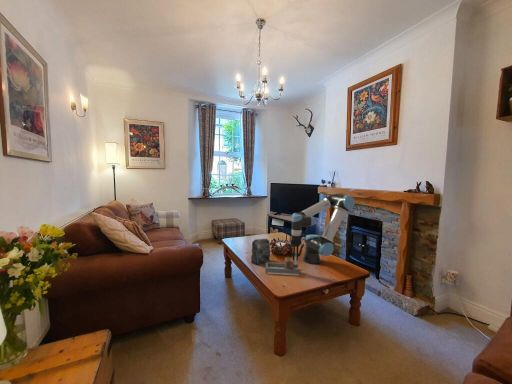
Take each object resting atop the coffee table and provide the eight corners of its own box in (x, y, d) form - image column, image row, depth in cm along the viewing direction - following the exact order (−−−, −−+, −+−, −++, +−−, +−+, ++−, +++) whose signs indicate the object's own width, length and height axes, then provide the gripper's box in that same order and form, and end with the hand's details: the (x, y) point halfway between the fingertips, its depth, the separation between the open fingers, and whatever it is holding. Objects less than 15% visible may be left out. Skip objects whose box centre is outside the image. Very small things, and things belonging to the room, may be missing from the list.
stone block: (255, 265, 185) (255, 242, 183) (249, 262, 192) (249, 239, 191) (272, 261, 195) (273, 238, 193) (266, 257, 203) (267, 236, 201)
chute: (297, 268, 182) (297, 263, 181) (299, 275, 169) (299, 270, 169) (265, 266, 184) (266, 261, 183) (265, 273, 171) (265, 268, 171)
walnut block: (292, 267, 180) (292, 257, 179) (293, 271, 172) (293, 261, 171) (284, 267, 180) (285, 257, 180) (285, 271, 172) (285, 261, 172)
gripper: (304, 233, 176) (302, 262, 178) (287, 232, 177) (286, 261, 179) (305, 236, 169) (304, 266, 171) (288, 235, 170) (286, 265, 172)
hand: (295, 264), depth 175 cm, fingers closed
